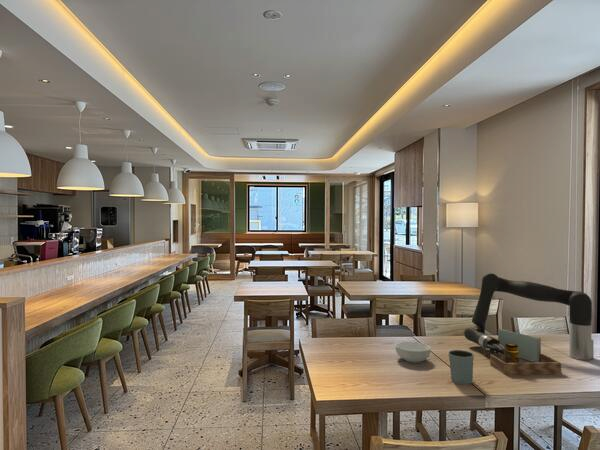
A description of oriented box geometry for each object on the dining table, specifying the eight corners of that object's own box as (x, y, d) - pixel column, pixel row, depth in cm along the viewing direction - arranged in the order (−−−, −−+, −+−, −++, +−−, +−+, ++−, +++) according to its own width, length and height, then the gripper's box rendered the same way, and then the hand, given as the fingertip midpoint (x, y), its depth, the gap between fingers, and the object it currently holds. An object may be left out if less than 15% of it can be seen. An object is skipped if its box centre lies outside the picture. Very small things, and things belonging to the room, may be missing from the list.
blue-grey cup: (477, 385, 168) (477, 357, 169) (453, 385, 169) (453, 356, 169) (468, 376, 179) (468, 349, 179) (445, 376, 179) (445, 349, 179)
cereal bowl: (436, 359, 201) (436, 345, 201) (421, 368, 189) (421, 353, 189) (405, 352, 213) (405, 339, 213) (389, 360, 201) (389, 346, 201)
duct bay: (542, 364, 195) (542, 353, 195) (561, 373, 182) (561, 362, 182) (490, 365, 194) (490, 354, 194) (505, 374, 181) (505, 363, 181)
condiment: (523, 371, 185) (523, 345, 185) (506, 372, 183) (506, 346, 183) (512, 366, 192) (512, 341, 192) (496, 367, 191) (496, 342, 191)
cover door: (541, 363, 195) (541, 337, 195) (539, 364, 195) (539, 338, 195) (499, 351, 215) (499, 327, 215) (498, 351, 215) (498, 327, 215)
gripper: (476, 336, 208) (494, 346, 190) (501, 336, 208) (521, 346, 191) (476, 350, 208) (494, 362, 190) (501, 350, 208) (521, 361, 191)
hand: (508, 354), depth 191 cm, fingers closed
